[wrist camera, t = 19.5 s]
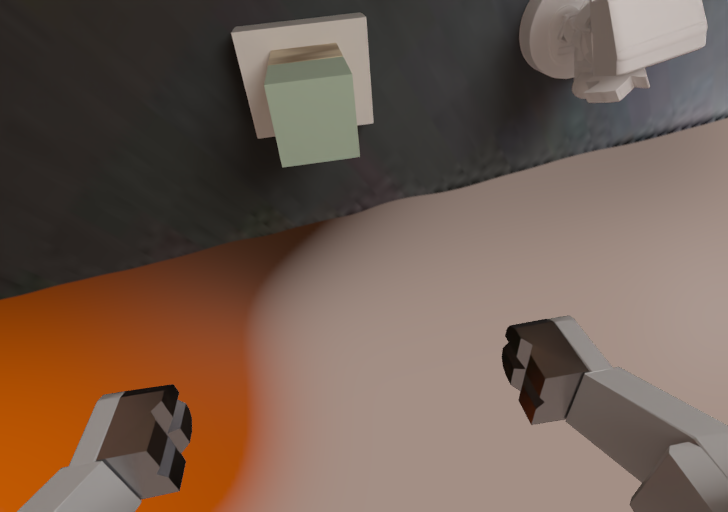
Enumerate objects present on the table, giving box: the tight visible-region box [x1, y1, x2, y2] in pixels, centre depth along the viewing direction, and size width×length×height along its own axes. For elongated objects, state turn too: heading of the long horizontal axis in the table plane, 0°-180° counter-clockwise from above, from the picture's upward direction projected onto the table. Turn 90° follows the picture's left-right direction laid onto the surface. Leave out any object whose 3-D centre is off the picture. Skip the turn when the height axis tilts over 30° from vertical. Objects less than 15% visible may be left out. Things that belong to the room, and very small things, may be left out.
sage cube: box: [264, 56, 360, 168], centre depth 26 cm, size 5×5×5 cm
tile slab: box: [231, 12, 374, 139], centre depth 33 cm, size 10×8×3 cm
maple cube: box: [268, 43, 343, 65], centre depth 30 cm, size 5×5×5 cm
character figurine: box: [519, 0, 708, 103], centre depth 30 cm, size 9×10×12 cm
